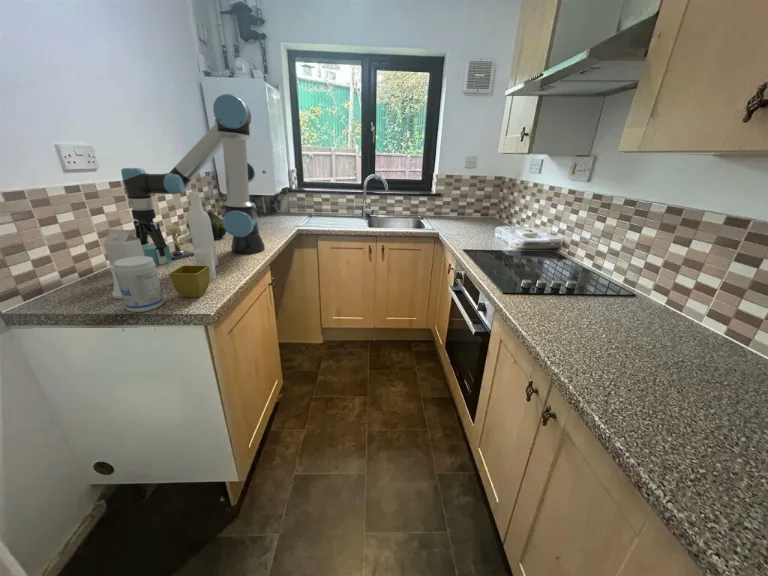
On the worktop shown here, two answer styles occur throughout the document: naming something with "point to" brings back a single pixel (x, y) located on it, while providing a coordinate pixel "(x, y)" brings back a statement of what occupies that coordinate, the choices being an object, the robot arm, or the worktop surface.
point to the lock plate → (180, 254)
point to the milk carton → (122, 245)
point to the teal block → (151, 252)
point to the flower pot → (191, 280)
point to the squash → (216, 226)
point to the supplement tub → (139, 283)
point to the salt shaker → (115, 285)
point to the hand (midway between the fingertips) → (155, 261)
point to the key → (175, 235)
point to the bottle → (200, 226)
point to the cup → (206, 259)
